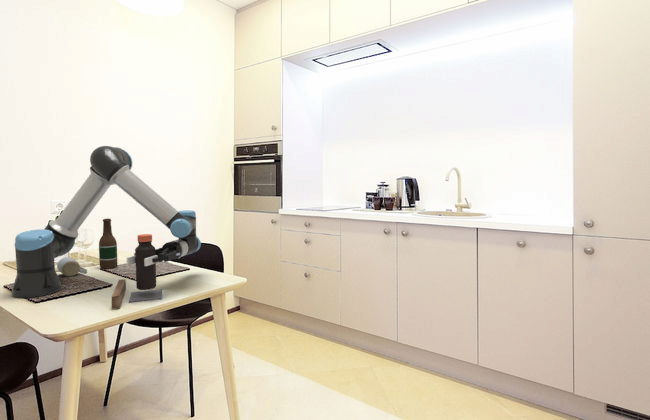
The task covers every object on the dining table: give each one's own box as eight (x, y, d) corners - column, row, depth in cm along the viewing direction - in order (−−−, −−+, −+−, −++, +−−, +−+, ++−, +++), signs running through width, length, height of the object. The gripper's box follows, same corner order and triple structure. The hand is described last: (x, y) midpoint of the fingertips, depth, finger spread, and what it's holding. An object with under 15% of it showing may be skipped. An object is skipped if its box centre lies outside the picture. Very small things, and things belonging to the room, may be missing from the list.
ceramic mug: (62, 278, 166) (61, 261, 165) (57, 274, 171) (56, 258, 170) (89, 274, 174) (89, 257, 173) (83, 271, 179) (83, 255, 178)
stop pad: (128, 302, 136) (128, 301, 136) (131, 293, 146) (131, 292, 146) (162, 299, 140) (162, 297, 140) (162, 290, 150) (162, 289, 150)
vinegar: (137, 286, 145) (135, 234, 143) (156, 284, 147) (154, 233, 146) (136, 291, 139) (134, 237, 137) (156, 289, 141) (154, 236, 139)
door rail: (111, 309, 129) (111, 296, 129) (119, 290, 149) (118, 279, 149) (119, 308, 130) (119, 295, 130) (126, 290, 150) (125, 279, 150)
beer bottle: (101, 266, 188) (99, 218, 186) (119, 265, 190) (117, 217, 188) (97, 269, 181) (95, 219, 178) (115, 269, 183) (114, 219, 181)
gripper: (195, 259, 158) (160, 273, 135) (154, 257, 162) (113, 270, 139) (195, 242, 157) (160, 253, 135) (153, 239, 161) (112, 250, 139)
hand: (136, 261), depth 137 cm, fingers closed on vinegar, 7 cm apart
